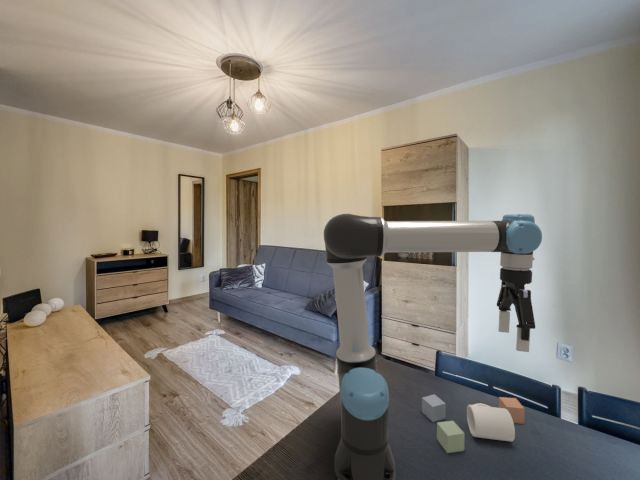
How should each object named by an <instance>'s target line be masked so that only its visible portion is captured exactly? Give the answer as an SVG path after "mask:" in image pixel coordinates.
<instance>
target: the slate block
mask: <svg viewBox="0 0 640 480" xmlns="http://www.w3.org/2000/svg"><path fill="white" fill-rule="evenodd" d="M446 407H447V404H446V402H445V401H443V400H442V399H441V398H440V397H438V396H437V395H436V394H430V395H427V396H423V397H421V413H422V414H423V415H425V417H426V418H428V419H429V420H430V421H431V422H432V423H436V422H439V421H441V420H445V419H446V418H447V417H446V413H447V412H446V411H447V409H446Z"/></svg>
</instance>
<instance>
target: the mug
mask: <svg viewBox="0 0 640 480" xmlns="http://www.w3.org/2000/svg"><path fill="white" fill-rule="evenodd" d="M466 420H467V426H468V429H469V430H468V431H469V432H470V435H472V437H474V438H481V439H488V440H497V441H502V442H504V441H505V442H511V443H512V442H514V440H515V438H516V428H515V423H513V419H512V417H511V415H510V413H509V411H508V410H507V409H505V408H499V407H496V406H495V407H494V406H491V405H488V404H485V403H480V402H479V403H478V402H477V403H474V404H468V405H467V406H466Z"/></svg>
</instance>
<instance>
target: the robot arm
mask: <svg viewBox="0 0 640 480" xmlns="http://www.w3.org/2000/svg"><path fill="white" fill-rule="evenodd" d="M323 240H324V246H325V248H324V249H325V257H326V264H327V265H329V266H330V267H331V269H332V274H333V283H334V294H335V304H336V305H335V306H336V314H337V315H336V316H337V322H338V323H337V324H338V325H337V326H338V336H339V344H340V346H339V347H338V348H337V350H336V353H335V354H336V355H335V356H336V365H337V367H336V370H337V376H338V387H339V388H338V389H339V399H340V425H341V426H340V433H341V434H340V439H339V441H338V442H339V443H338V445H337V448H336V451H335V455H334V474H335V473H336V474H335V477H336V476H337V477H336V479H337V478H338V479H339V480H396V463H395V459H394V455H393V453H392V449H391V446H390V444H389V403H390V393H389V386H388V383H387V381H386V379H385V377H384V376H383V375H382V374H381V373H379V372H378V365H377V363H378V362H377V355H376V350H375V349H376V348H375V347H374V346H372V345H371V344H370V338H369V337H370V335H369V325H368V316H367V315H368V314H367V304H366V294H365V293H366V292H365V282H364V281H365V280H364V272H363V266H364V264H365V263H366V261H367V260H368V258H372V257H373V258H374V257H375V258H376V257H379V258H380V257H383V256H384V255H385V254H386V253H500V261H499V262H500V263H499V266H501V268H500V270H499V279H500V281H501V282H500V283H501V285H500V289H499V290H500V291H499V293H498V298H497V301H496V307H498V310H499V311H498V330H497V331H498V332H499V333H506V334H507V333H508V334H509V333H510V320H511V312H512V309H511V306H512V305H513V306H514V310H515V313H516V318H517V322H518V324H516V326H515V327H516V344H515V346H516V347H515V350H516V351H517V352H525V353H530V341H531V339H530V338H531V329H533V330H535V329H536V321H535V317H534V316H535V315H534V311H533V310H534V309H533V303H532V291H531V290H530V289H526V287H525V285H530V284H532V282H533V271H532V270H531V269H533V261H535V257H534V252H535V251H536V250H537V249H538V248H539V247H540V246H541V243H542V241H543V232H542V230H541V228H540V227H539V225H538V224H536V223H535V216H533V215H532V214H531V213H530V214H529V213H527V214H526V213H520V214H519V213H517V214H516V213H515V214H513V213H512V214H510V213H509V214H508V213H507V214H503V216H502V219H501V220H397V221H395V220H391V221H390V220H385V219H384V218H383V217H382V216H366V215H365V216H364V215H358V214H354V213H341V214H338V215H335V216H333V217H331V218H330V219H329V220H328V221H327V223H326V225H325V226H324V229H323ZM338 479H337V480H338Z"/></svg>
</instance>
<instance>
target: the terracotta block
mask: <svg viewBox="0 0 640 480" xmlns="http://www.w3.org/2000/svg"><path fill="white" fill-rule="evenodd" d="M498 408H505V409H507V410H508V411H509V413H510V415H511V417H512V419H513V423H514V424H520V425H521V424H523V425H525V411H526V409H525V407H524V406H523V405H522V403H520V401H519V400H518V399H517V398H516V397H506V396H505V397H504V396H503V397H502V396H499V397H498Z"/></svg>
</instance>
